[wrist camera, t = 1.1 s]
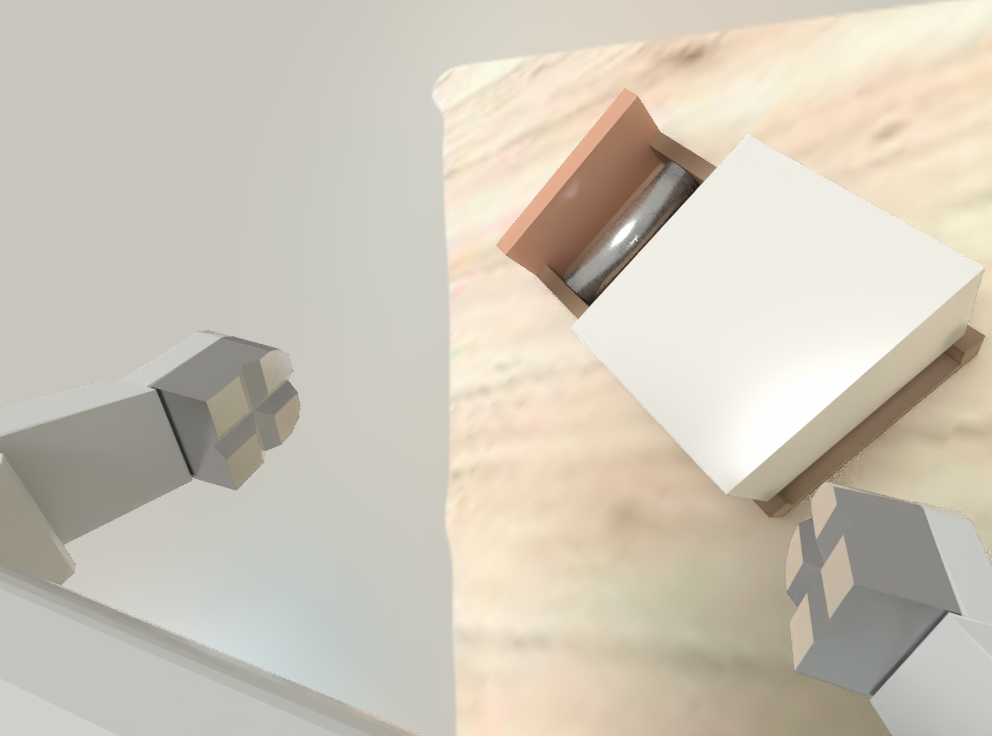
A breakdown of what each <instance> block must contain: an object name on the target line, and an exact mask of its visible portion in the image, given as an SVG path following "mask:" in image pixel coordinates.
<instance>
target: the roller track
mask: <svg viewBox="0 0 992 736" xmlns="http://www.w3.org/2000/svg"><path fill="white" fill-rule="evenodd" d="M716 168H717V167H715V166H714V165H712V164H711V163H709V162H707V161H706V160H704V159H703V158H701V157H699V156H698V155H696V154H695V153H693V152H691V151H690V150H688V149H687V148H685V147H683V146H682V145H680V144H679V143H677V142H675V141H674V140H672V139H671V138H669V137H668V136H666V135H664V134H663V133H661V132H660V131H659V129H658V127H657V126H656V124H655V123H654V121H653V119H652V118H651V116H650V115H649V113H648V111H647V110H646V108H645V107H644V105H643V103H642V102H641V100H640V99H639V97H638V96H637V95H635V94H634V93H632V92H630V91H629V90H627V89H624V90H623V91H622V92H621V93H620V95H619V96H618V97H617V98H616V100H615V101H614V102H613V103H612V104H611V106H610V107H609V108H608V109H607V110H606V112H605V113H604V114H603V115H602V117H601V118H600V119H599V120H598V121H597V123H596V124H595V125H594V126H593V128H592V129H591V130H590V131H589V132H588V134H587V135H586V136H585V137H584V138H583V140H582V141H581V142H580V143H579V145H578V146H577V147H576V148H575V149H574V151H573V152H572V153H571V154H570V156H569V157H568V158H567V159H566V160H565V162H564V163H563V164H562V165H561V166H560V168H559V169H558V170H557V171H556V173H555V174H554V175H553V176H552V177H551V179H550V180H549V181H548V182H547V184H546V185H545V186H544V187H543V188H542V190H541V191H540V192H539V193H538V194H537V196H536V197H535V198H534V199H533V201H532V202H531V203H530V204H529V205H528V207H527V208H526V209H525V210H524V212H523V213H522V214H521V215H520V216H519V218H518V219H517V220H516V221H515V222H514V224H513V225H512V226H511V227H510V229H509V230H508V231H507V232H506V233H505V235H504V236H503V237H502V238H501V240H500V241H499V242H498V243H497V244H496V245H497V246H498V247H499V249H500V250H501V251H502V252H503V253H504V254H505V255H506V256H508V257H509V258H511V259H512V260H514V261H515V262H517V263H518V264H520V265H521V266H523V267H524V268H526V269H527V270H529V271H530V272H532V273H533V274H535V275H536V276H537V277H538V278H539V279H540V280H541V281H542V282H543V283H544V284H545V285H546V286H547V287H548V288H549V289H550V290H551V291H552V292H553V293H554V294H555V295H556V297H557V298H558V299H559V300H560V301H561V302H562V303H563V304H564V305H565V306H566V307H567V308H568V309H569V310H570V311H571V312H572V313H573V314H574V315H575V316H576V317H577V318H578V319H579V318H580V317H581V316H582V315H583V313H584V312H585V311H586V310H587V309H588V308H589V307H590V306H591V305H592V304H593V302H594V301H595V300H596V299H597V298H598V297H599V296H600V295H601V294H602V293H603V292H604V290H605V289H606V288H607V287H608V286H609V285H610V284H611V283H612V282H613V281H614V280H615V278H616V277H617V276H618V275H619V274H620V273H621V272H622V271H623V270H624V269H625V267H626V266H627V265H628V264H629V263H630V262H631V261H632V260H633V259H634V258H635V257H636V255H637V254H638V253H639V252H640V251H641V250H642V249H643V248H644V247H645V246H646V245H647V243H648V242H649V241H650V240H651V239H652V238H653V237H654V236H655V235H656V234H657V232H658V231H659V230H660V229H661V228H662V227H663V226H664V225H665V224H666V223H667V222H668V220H669V219H670V218H671V217H672V216H673V215H674V214H675V213H676V212H677V211H678V210H679V208H680V207H681V206H682V205H683V204H684V203H685V202H686V201H687V200H688V199H689V197H690V196H691V195H692V194H693V193H694V192H695V191H696V190H697V189H698V188H699V187H700V185H701V184H702V183H703V182H704V181H705V180H706V179H707V178H708V177H709V176H710V175H711V173H712V172H713V171H714V170H715V169H716ZM984 337H985V336H984V335H983V334H981V333H980V332H978V331H976V330H975V329H973V328H972V327H970V326H968V325H967V328H966V331H965V334H964V335H963V336H962V337H961V338H960V339H959V340H957V341H956V342H955V343H954V344H953V345H952V346H950V347H949V348H948V349H947V350H946V351H944V352H943V353H942V354H941V355H940V356H939V357H937V358H936V359H935V360H934V361H933V362H932V363H930V364H929V365H928V366H927V367H926V368H924V369H923V370H922V371H921V372H920V373H919V374H917V375H916V376H915V377H914V378H913V379H912V380H910V381H909V382H908V383H907V384H906V385H904V386H903V387H902V388H901V389H900V390H899V391H897V392H896V393H895V394H894V395H893V396H892V397H890V398H889V399H888V400H887V401H886V402H884V403H883V404H882V405H881V406H880V407H879V408H877V409H876V410H875V411H874V412H873V413H871V414H870V415H869V416H868V417H867V418H866V419H864V420H863V421H862V422H861V423H860V424H859V425H857V426H856V427H855V428H854V429H853V430H851V431H850V432H849V433H848V434H847V435H846V436H844V437H843V438H842V439H841V440H840V441H839V442H837V443H836V444H835V445H834V446H833V447H831V448H830V449H829V450H828V451H827V452H826V453H824V454H823V455H822V456H821V457H820V458H819V459H817V460H816V461H815V462H814V463H813V464H811V465H810V466H809V467H808V468H807V469H806V470H804V471H803V472H802V473H801V474H800V475H798V476H797V477H796V478H795V479H794V480H793V481H791V482H790V483H789V484H788V485H787V486H786V487H784V488H783V489H782V490H781V491H780V492H778V493H777V494H776V495H775V496H774V497H773V498H771V499H770V500H769V501H768V502H767V501H761V500H754V499H753V500H754V501H755V502H756V503H757V505H758V506H759V507H760V508H761V509H762V510H763V511H764V512H765V513H766V514H767V515H768V516H769V517H782V516H783V515H784V514H786V513H787V512H788V511H789V510H790V509H792V508H793V507H794V506H795V505H796V504H798V503H799V502H800V501H801V500H802V499H804V498H805V497H806V496H807V495H808V494H810V493H811V492H812V491H813V490H814V489H816V488H817V487H818V486H819V485H820V484H822V483H823V482H824V481H825V480H826V479H828V478H829V477H830V476H831V475H832V474H834V473H835V472H836V471H837V470H838V469H840V468H841V467H842V466H843V465H844V464H846V463H847V462H848V461H849V460H850V459H852V458H853V457H854V456H855V455H856V454H858V453H859V452H860V451H861V450H862V449H864V448H865V447H866V446H867V445H868V444H870V443H871V442H872V441H873V440H874V439H876V438H877V437H878V436H879V435H880V434H882V433H883V432H884V431H885V430H886V429H888V428H889V427H890V426H891V425H892V424H894V423H895V422H896V421H897V420H898V419H900V418H901V417H902V416H903V415H904V414H906V413H907V412H908V411H909V410H911V409H912V408H913V407H914V406H915V405H917V404H918V403H919V402H920V401H921V400H923V399H924V398H925V397H926V396H927V395H929V394H930V393H931V392H932V391H933V390H935V389H936V388H937V387H938V386H939V385H941V384H942V383H943V382H944V381H945V380H947V379H948V378H949V377H950V376H951V375H953V374H954V373H955V372H956V371H957V370H959V369H960V368H961V367H962V366H963V365H965V364H966V363H967V362H968V361H969V360H971V359H972V358H973V357H974V356H975V355H977V354H978V351H979V349H980V346H981V344H982V342H983V339H984Z"/></svg>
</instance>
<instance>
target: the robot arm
mask: <svg viewBox="0 0 992 736" xmlns="http://www.w3.org/2000/svg"><path fill="white" fill-rule="evenodd" d="M292 372H293V369H292V365H291V362H290V358H289V355H288V354H287V353H285V352H284V351H282V350H280V349H277V348H274V347H270V346H266V345H263V344H258V343H255V342H251V341H248V340H244V339H240V338H237V337H233V336H231V337H230V336H227V335H224V334H220V333H215V332H212V331H198V332H195V333H194V334H192V335H191V336H189V337H187V338H186V339H185V340H183V341H181V342H180V343H178V344H177V345H175V346H174V347H172V348H170V349H169V350H167V351H166V352H164V353H163V354H161V355H160V356H158V357H156V358H155V359H153V360H152V361H150V362H149V363H147V364H146V365H144V366H142V367H141V368H139V369H138V370H136V371H135V372H133V373H132V374H130V375H128V376H127V377H125V378H124V379H122V380H120V379H117V378H112V379H108V380H104V381H100V382H96V383H93V384H89V385H85V386H82V387H78V388H74V389H70V390H67V391H63V392H59V393H55V394H52V395H48V396H44V397H40V398H36V399H32V400H29V401H25V402H21V403H18V404H14V405H10V406H6V407H2V408H0V736H424V735H421V734H419V733H416V732H414V731H412V730H409V729H407V728H404V727H402V726H400V725H397V724H395V723H392V722H390V721H387V720H385V719H383V718H380V717H378V716H375V715H373V714H370V713H368V712H366V711H363V710H361V709H358V708H356V707H354V706H351V705H349V704H346V703H344V702H341V701H339V700H336V699H334V698H332V697H329V696H327V695H325V694H322V693H319V692H317V691H315V690H312V689H310V688H307V687H305V686H302V685H300V684H298V683H295V682H293V681H291V680H288V679H286V678H283V677H281V676H279V675H276V674H274V673H271V672H269V671H267V670H264V669H262V668H259V667H257V666H254V665H252V664H249V663H247V662H244V661H242V660H240V659H237V658H235V657H233V656H230V655H228V654H225V653H223V652H220V651H218V650H216V649H213V648H211V647H208V646H206V645H204V644H201V643H199V642H196V641H194V640H191V639H189V638H186V637H184V636H182V635H179V634H177V633H175V632H172V631H170V630H167V629H165V628H162V627H160V626H158V625H155V624H153V623H150V622H148V621H145V620H143V619H141V618H138V617H136V616H133V615H131V614H128V613H126V612H124V611H121V610H119V609H116V608H114V607H111V606H109V605H107V604H104V603H101V602H99V601H97V600H95V599H92V598H90V597H87V596H85V595H82V594H80V593H78V592H75V591H73V590H70V589H68V588H65V587H63V586H61V585H62V584H63V583H64V582H65V581H66V580H67V579H68V578H69V577H70V576H71V575H73V574H74V572H75V566H76V563H75V562H74V560H73V559H72V557H71V556H70V554H69V553H68V552H67V550H66V549H65V547H64V544H66V543H68V542H70V541H72V540H74V539H76V538H78V537H80V536H82V535H84V534H86V533H88V532H90V531H92V530H94V529H96V528H98V527H100V526H102V525H104V524H106V523H108V522H110V521H112V520H114V519H116V518H118V517H120V516H122V515H124V514H126V513H128V512H130V511H132V510H134V509H136V508H138V507H140V506H142V505H144V504H146V503H148V502H150V501H152V500H154V499H156V498H158V497H160V496H162V495H164V494H166V493H168V492H170V491H172V490H174V489H176V488H178V487H180V486H182V485H184V484H186V483H188V482H190V481H192V478H196V479H199V480H202V481H206V482H209V483H213V484H216V485H220V486H223V487H227V488H230V489H233V490H238V489H239V488H240V487H241V486H242V485H243V483H244V482H245V481H246V480H247V479H248V478H249V477H250V476H251V475H252V474H253V473H254V472H255V471H256V470H257V469H258V468H259V467H260V466H261V465H262V464H263V463H264V456H265V451H267V450H269V449H272V448H274V447H277V446H279V445H281V444H282V443H283V442H284V441H285V440H286V439H287V438H288V437H289V436H290V435H291V434H292V432H293V430H294V428H295V425H296V423H297V421H298V418H299V411H300V401H299V396H298V392H297V391H296V390H295V388H294V387H293V386H292V385H291V383H290V382H289V381H288V379H289V377H290V375H291V374H292ZM811 509H812V516H813V518H812V519H809V520H807V521H805V522H802V523H800V524H798V526H797V528H796V530H795V532H794V534H793V537H792V539H791V541H790V545H789V549H788V553H787V557H786V568H785V580H786V592H787V593H788V595H789V596H790V597H791V599H792V600H793V601H794V603H795V604H796V605H797V606H798V609H797V610H796V612H795V614H794V615H793V617H792V619H791V620H790V622H789V624H790V633H791V642H792V652H793V661H794V671H796V672H799V673H802V674H805V675H808V676H811V677H813V678H816V679H819V680H822V681H825V682H828V683H831V684H833V685H836V686H839V687H842V688H845V689H848V690H851V691H853V692H856V693H859V694H862V695H865V696H868V697H871V699H870V700H869V701H870V703H871V704H872V706H873V707H874V709H875V710H876V712H877V713H878V715H879V717H880V718H881V720H882V721H883V723H884V724H885V726H886V727H887V729H888V731H889V732H890V734H891V735H892V736H992V565H991V563H990V561H989V558H988V556H987V554H986V552H985V550H984V548H983V546H982V543H981V541H980V539H979V537H978V535H977V533H976V530H975V528H974V526H973V524H972V522H971V520H970V519H969V518H968V517H967V516H965V515H964V514H963V513H962V512H959V511H954V510H950V509H945V508H941V507H936V506H932V505H927V504H923V503H918V502H909V501H906V500H901V499H897V498H893V497H889V496H884V495H880V494H876V493H872V492H868V491H863V490H859V489H855V488H851V487H846V486H842V485H838V484H834V483H829V482H824V483H823V484H822V485H821V486H820V487H819V488H818V489H817V491H816V493H815V494H814V496H813V498H812V500H811Z"/></svg>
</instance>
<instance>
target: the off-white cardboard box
mask: <svg viewBox="0 0 992 736" xmlns="http://www.w3.org/2000/svg"><path fill="white" fill-rule="evenodd" d="M984 270H985V267H984V266H982V265H980V264H978V263H977V262H975V261H973V260H971V259H969V258H968V257H966V256H964V255H962V254H960V253H959V252H957V251H955V250H953V249H951V248H950V247H948V246H946V245H944V244H943V243H941V242H939V241H937V240H935V239H934V238H932V237H930V236H928V235H926V234H925V233H923V232H921V231H919V230H917V229H916V228H914V227H912V226H910V225H909V224H907V223H905V222H903V221H901V220H900V219H898V218H896V217H894V216H892V215H891V214H889V213H887V212H885V211H884V210H882V209H880V208H878V207H876V206H875V205H873V204H871V203H869V202H867V201H866V200H864V199H862V198H860V197H858V196H857V195H855V194H853V193H851V192H850V191H848V190H846V189H844V188H842V187H841V186H839V185H837V184H835V183H833V182H832V181H830V180H828V179H826V178H824V177H823V176H821V175H819V174H817V173H816V172H814V171H812V170H810V169H808V168H807V167H805V166H803V165H801V164H799V163H798V162H796V161H794V160H792V159H790V158H789V157H787V156H785V155H783V154H782V153H780V152H778V151H776V150H774V149H773V148H771V147H769V146H767V145H765V144H764V143H762V142H760V141H758V140H756V139H755V138H753V137H751V136H749V135H748V134H747V135H746V136H745V137H744V138H743V140H742V141H741V142H740V143H739V144H738V145H737V146H736V147H735V148H734V149H733V150H732V152H731V153H730V154H729V155H728V156H727V157H726V158H725V159H724V160H723V161H722V162H721V164H720V165H719V166H718V167H717V168H716V169H715V170H714V171H713V172H712V173H711V175H710V176H709V177H708V178H707V179H706V180H705V181H704V182H703V183H702V184H701V185H700V187H699V188H698V189H697V190H696V191H695V192H694V193H693V194H692V195H691V196H690V197H689V199H688V200H687V201H686V202H685V203H684V204H683V205H682V206H681V207H680V208H679V210H678V211H677V212H676V213H675V214H674V215H673V216H672V217H671V218H670V219H669V220H668V222H667V223H666V224H665V225H664V226H663V227H662V228H661V229H660V230H659V231H658V232H657V234H656V235H655V236H654V237H653V238H652V239H651V240H650V241H649V242H648V243H647V245H646V246H645V247H644V248H643V249H642V250H641V251H640V252H639V253H638V254H637V255H636V257H635V258H634V259H633V260H632V261H631V262H630V263H629V264H628V265H627V266H626V267H625V269H624V270H623V271H622V272H621V273H620V274H619V275H618V276H617V277H616V278H615V280H614V281H613V282H612V283H611V284H610V285H609V286H608V287H607V288H606V289H605V290H604V292H603V293H602V294H601V295H600V296H599V297H598V298H597V299H596V300H595V301H594V302H593V304H592V305H591V306H590V307H589V308H588V309H587V310H586V311H585V312H584V313H583V315H582V316H581V317H580V318H579V319H578V320H577V321H576V322H575V323H574V324H573V325H572V327H571V328H570V329H571V330H572V331H573V332H574V333H575V335H576V336H577V337H578V338H579V339H580V340H581V341H582V342H583V343H584V344H585V345H586V346H587V347H588V348H589V349H590V351H591V352H592V353H593V354H594V355H595V356H596V357H597V358H598V359H599V360H600V361H601V362H602V363H603V364H604V365H605V367H606V368H607V369H608V370H609V371H610V372H611V373H612V374H613V375H614V376H615V377H616V378H617V379H618V380H619V381H620V383H621V384H622V385H623V386H624V387H625V388H626V389H627V390H628V391H629V392H630V393H631V394H632V395H633V396H634V397H635V399H636V400H637V401H638V402H639V403H640V404H641V405H642V406H643V407H644V408H645V409H646V410H647V411H648V412H649V413H650V415H651V416H652V417H653V418H654V419H655V420H656V421H657V422H658V423H659V424H660V425H661V426H662V427H663V428H664V429H665V430H666V432H667V433H668V434H669V435H670V436H671V437H672V438H673V439H674V440H675V441H676V442H677V443H678V444H679V445H680V446H681V448H682V449H683V450H684V451H685V452H686V453H687V454H688V455H689V456H690V457H691V458H692V459H693V460H694V461H695V462H696V464H697V465H698V466H699V467H700V468H701V469H702V470H703V471H704V472H705V473H706V474H707V475H708V476H709V477H710V478H711V480H712V481H713V482H714V483H715V484H716V485H717V486H718V487H719V488H720V489H721V490H722V491H723V492H724V493H725V494H726V495H730V496H736V497H742V498H748V499H754V500H761V501H767V502H768V501H769V500H770V499H771V498H773V497H774V496H775V495H776V494H777V493H778V492H780V491H781V490H782V489H783V488H784V487H786V486H787V485H788V484H789V483H790V482H791V481H793V480H794V479H795V478H796V477H797V476H798V475H800V474H801V473H802V472H803V471H804V470H806V469H807V468H808V467H809V466H810V465H811V464H813V463H814V462H815V461H816V460H817V459H819V458H820V457H821V456H822V455H823V454H824V453H826V452H827V451H828V450H829V449H830V448H831V447H833V446H834V445H835V444H836V443H837V442H839V441H840V440H841V439H842V438H843V437H844V436H846V435H847V434H848V433H849V432H850V431H851V430H853V429H854V428H855V427H856V426H857V425H859V424H860V423H861V422H862V421H863V420H864V419H866V418H867V417H868V416H869V415H870V414H871V413H873V412H874V411H875V410H876V409H877V408H879V407H880V406H881V405H882V404H883V403H884V402H886V401H887V400H888V399H889V398H890V397H892V396H893V395H894V394H895V393H896V392H897V391H899V390H900V389H901V388H902V387H903V386H904V385H906V384H907V383H908V382H909V381H910V380H912V379H913V378H914V377H915V376H916V375H917V374H919V373H920V372H921V371H922V370H923V369H924V368H926V367H927V366H928V365H929V364H930V363H932V362H933V361H934V360H935V359H936V358H937V357H939V356H940V355H941V354H942V353H943V352H944V351H946V350H947V349H948V348H949V347H950V346H952V345H953V344H954V343H955V342H956V341H957V340H959V339H960V338H961V337H962V336H963V335H964V334H965V331H966V328H967V324H968V321H969V318H970V315H971V312H972V308H973V305H974V302H975V299H976V295H977V292H978V289H979V286H980V283H981V279H982V276H983V273H984Z"/></svg>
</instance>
